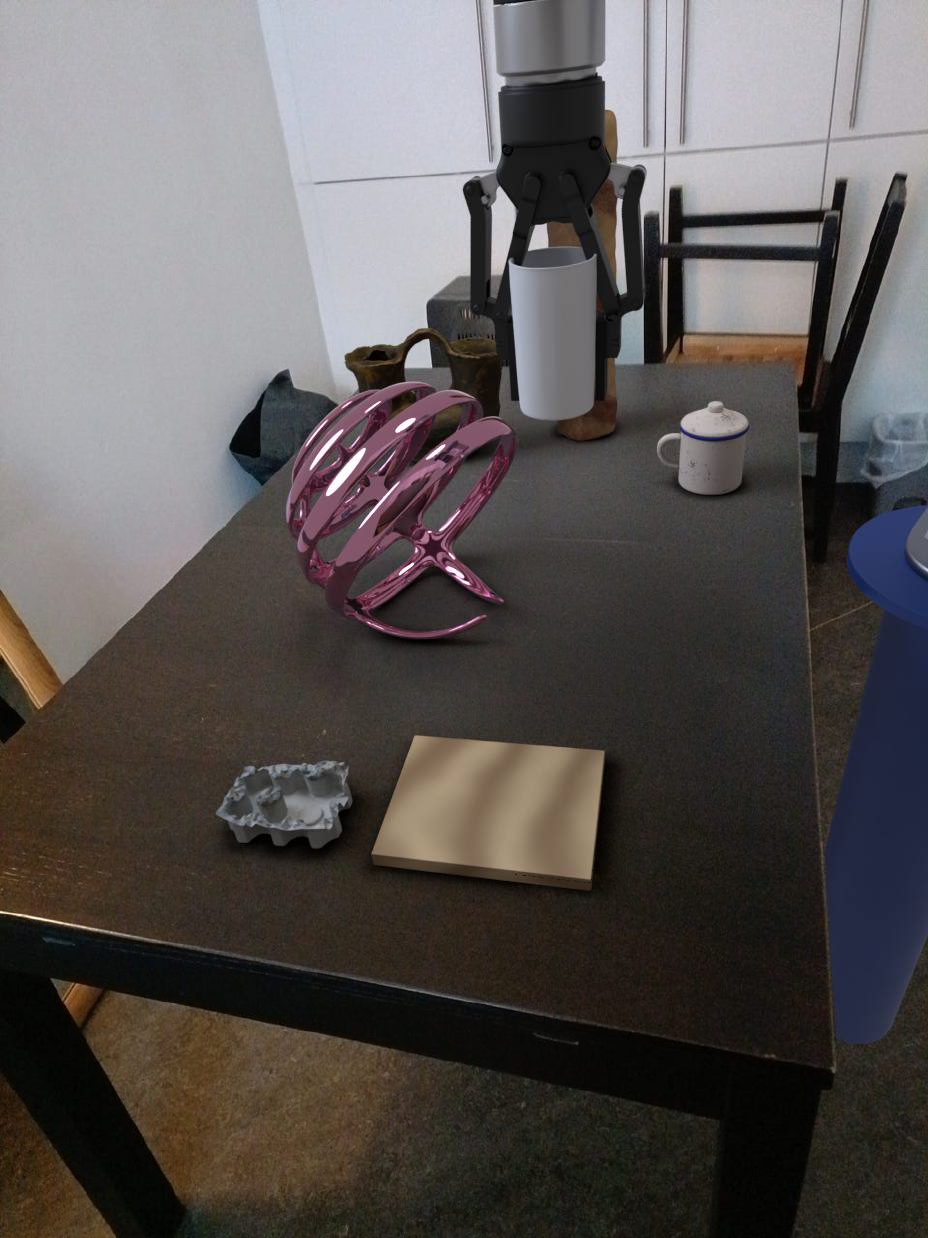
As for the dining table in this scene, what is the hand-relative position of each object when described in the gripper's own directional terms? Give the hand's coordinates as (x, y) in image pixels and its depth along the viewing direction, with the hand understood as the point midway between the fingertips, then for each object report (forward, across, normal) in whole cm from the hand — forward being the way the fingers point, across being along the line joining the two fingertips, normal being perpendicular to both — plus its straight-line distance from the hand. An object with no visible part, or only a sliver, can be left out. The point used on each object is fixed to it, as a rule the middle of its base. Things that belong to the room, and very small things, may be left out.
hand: (559, 394), depth 71 cm
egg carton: (+30, +21, +25) cm, 44 cm away
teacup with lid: (+29, -13, -42) cm, 53 cm away
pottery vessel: (+30, +28, -51) cm, 65 cm away
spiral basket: (+30, +19, -9) cm, 36 cm away
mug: (+1, 0, 0) cm, 1 cm away
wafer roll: (+29, +5, -60) cm, 67 cm away
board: (+29, +3, +22) cm, 37 cm away
